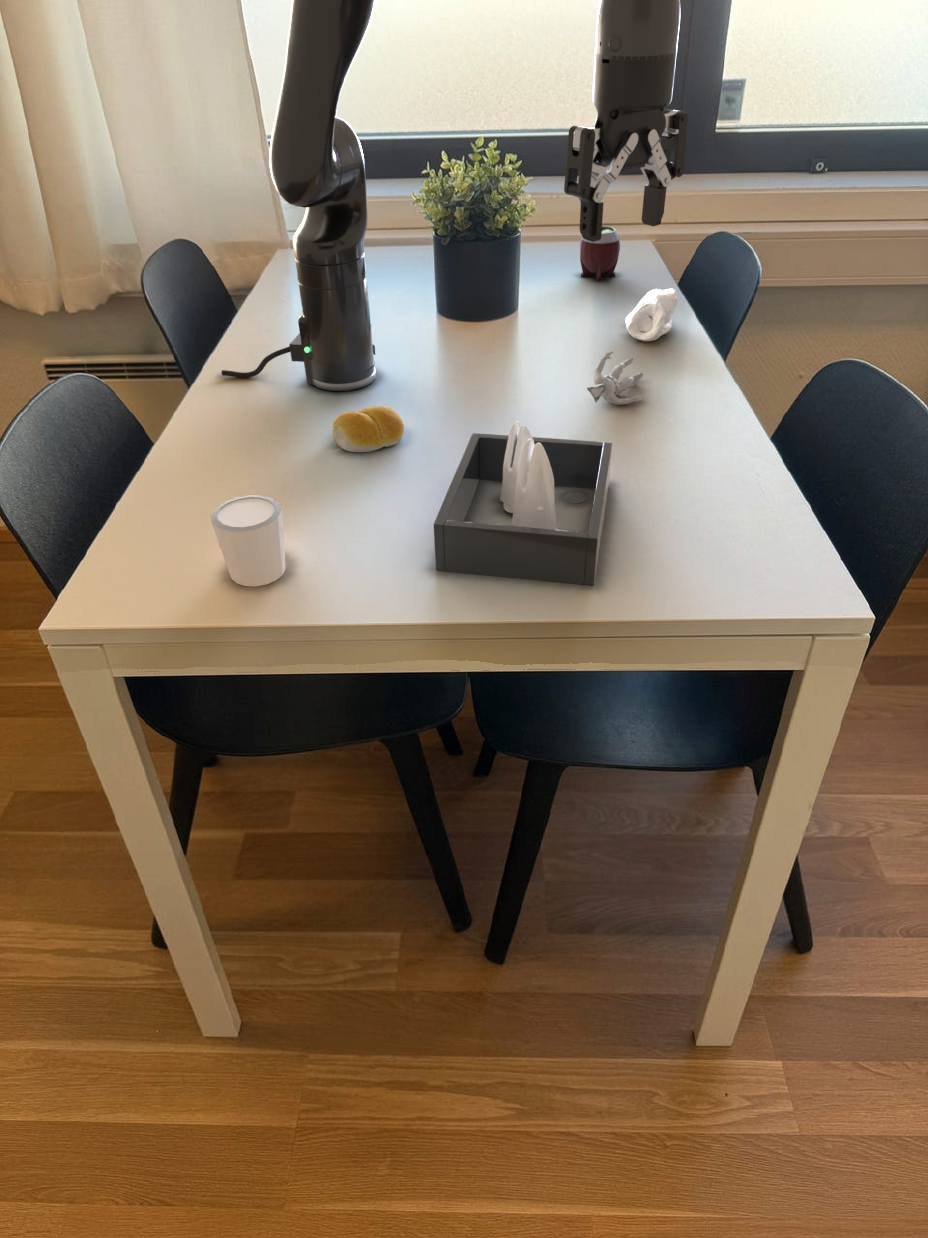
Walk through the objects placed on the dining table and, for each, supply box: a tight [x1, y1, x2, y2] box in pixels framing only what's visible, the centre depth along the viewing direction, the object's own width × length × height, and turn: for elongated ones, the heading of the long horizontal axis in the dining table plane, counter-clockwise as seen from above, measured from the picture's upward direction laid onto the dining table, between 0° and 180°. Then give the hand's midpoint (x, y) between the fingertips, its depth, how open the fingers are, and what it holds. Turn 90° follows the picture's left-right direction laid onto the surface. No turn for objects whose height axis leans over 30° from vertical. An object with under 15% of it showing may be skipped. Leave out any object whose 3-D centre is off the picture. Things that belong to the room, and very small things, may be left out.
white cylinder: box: [210, 494, 287, 588], centre depth 89 cm, size 7×7×7 cm
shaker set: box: [499, 421, 560, 530], centre depth 93 cm, size 12×4×11 cm, turn 9°
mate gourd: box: [579, 225, 621, 282], centre depth 158 cm, size 8×8×15 cm
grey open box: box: [433, 432, 613, 586], centre depth 95 cm, size 16×20×6 cm
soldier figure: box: [586, 350, 644, 406], centre depth 121 cm, size 8×5×12 cm
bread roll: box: [331, 405, 405, 453], centre depth 112 cm, size 8×9×4 cm
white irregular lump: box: [624, 287, 679, 343], centre depth 139 cm, size 9×12×8 cm
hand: (621, 231), depth 92 cm, fingers open, 8 cm apart
